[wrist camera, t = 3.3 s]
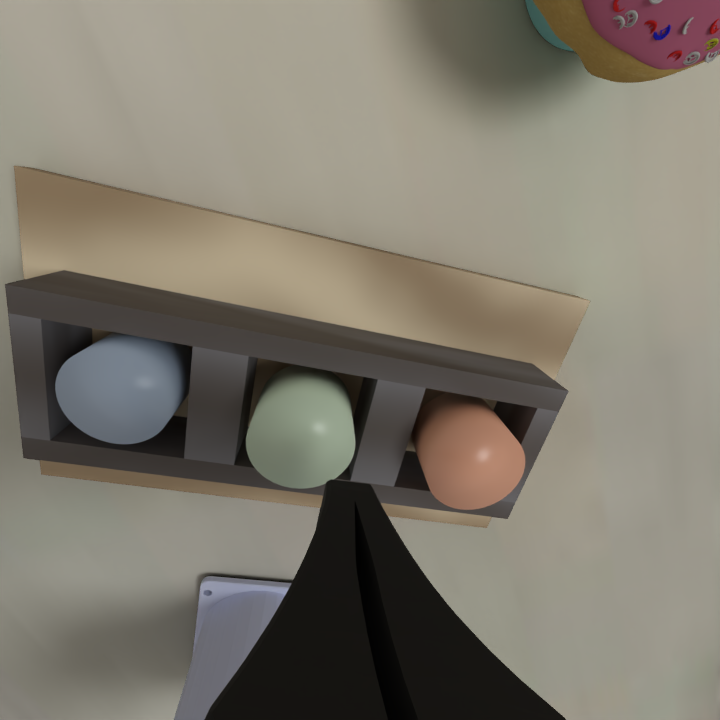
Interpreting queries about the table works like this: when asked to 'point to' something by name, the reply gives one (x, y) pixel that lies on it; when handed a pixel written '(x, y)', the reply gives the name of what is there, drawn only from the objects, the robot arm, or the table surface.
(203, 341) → the button panel
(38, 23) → the table surface
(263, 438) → the sage button
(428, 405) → the terracotta button
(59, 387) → the slate button
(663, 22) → the cupcake
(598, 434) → the table surface
